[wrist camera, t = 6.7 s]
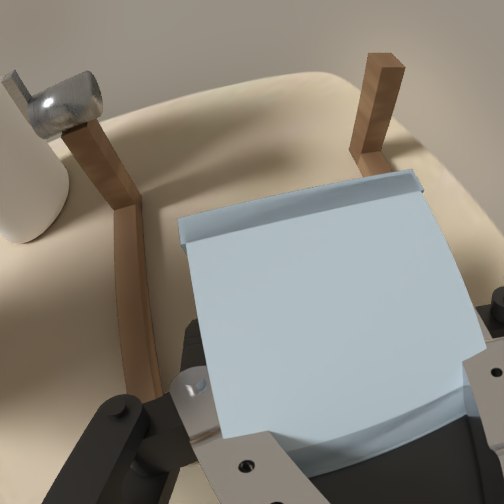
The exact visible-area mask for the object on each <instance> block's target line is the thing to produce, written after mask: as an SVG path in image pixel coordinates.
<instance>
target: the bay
mask: <svg viewBox="0 0 504 504" xmlns="http://www.w3.org/2000/svg"><path fill="white" fill-rule="evenodd" d="M404 71H405V66H404V65H403V64H402V63H401V62H400V61H399V60H398V59H397V58H396V57H395V56H394V55H393V54H392V53H368V57H367V63H366V69H365V74H364V80H363V85H362V90H361V95H360V100H359V105H358V110H357V115H356V120H355V125H354V129H353V134H352V139H351V143H350V147H349V151H350V153H351V154H352V156H353V158H354V160H355V162H356V164H357V166H358V168H359V170H360V171H361V173H362V175H363V177H368V176H374V175H379V174H385V173H391V172H392V170H391V168H390V166H389V165H388V163H387V161H386V159H385V158H384V156H383V154H382V153H381V148H382V145H383V142H384V139H385V136H386V132H387V129H388V126H389V123H390V120H391V116H392V113H393V110H394V106H395V103H396V100H397V96H398V93H399V89H400V86H401V82H402V78H403V75H404ZM61 138H62V140H63V141H64V143H65V144H66V145H67V147H68V148H69V150H70V151H71V153H72V154H73V155H74V157H75V158H76V160H77V161H78V163H79V164H80V165H81V167H82V168H83V170H84V171H85V172H86V174H87V175H88V177H89V178H90V179H91V181H92V182H93V183H94V185H95V186H96V187H97V189H98V190H99V191H100V193H101V194H102V195H103V197H104V198H105V199H106V201H107V202H108V203H109V205H110V206H111V207H112V209H113V210H114V262H115V284H116V300H117V313H118V324H119V334H120V344H121V352H122V360H123V368H124V375H125V381H126V388H127V394H129V395H134V396H136V397H137V398H139V399H140V401H141V403H142V404H143V403H146V402H149V401H152V400H154V399H157V398H159V397H161V396H163V391H162V386H161V380H160V375H159V369H158V362H157V356H156V350H155V343H154V336H153V329H152V321H151V313H150V305H149V296H148V286H147V276H146V265H145V253H144V239H143V222H142V201H141V195H140V193H139V191H138V190H137V188H136V186H135V185H134V183H133V181H132V180H131V178H130V176H129V175H128V173H127V171H126V170H125V168H124V166H123V164H122V163H121V161H120V159H119V158H118V156H117V154H116V152H115V151H114V149H113V147H112V145H111V144H110V142H109V140H108V138H107V136H106V135H105V133H104V131H103V129H102V128H101V126H100V124H99V122H98V120H97V118H96V119H93V120H91V121H88V122H85V123H83V124H80V125H78V126H76V127H73V128H71V129H68V130H66V131H64V132H62V135H61Z"/></svg>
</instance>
